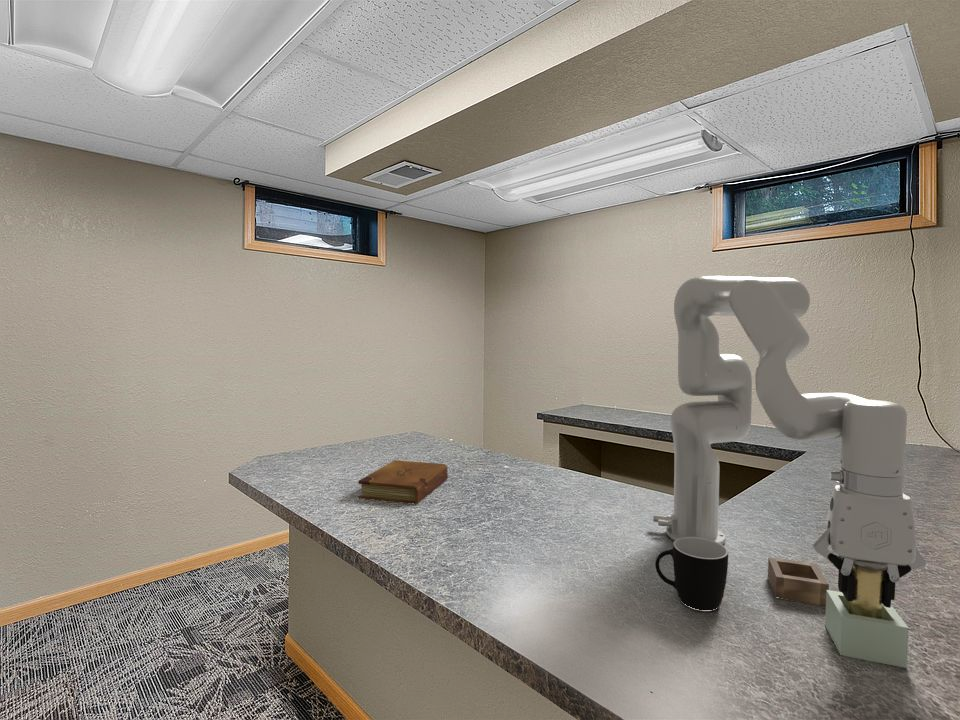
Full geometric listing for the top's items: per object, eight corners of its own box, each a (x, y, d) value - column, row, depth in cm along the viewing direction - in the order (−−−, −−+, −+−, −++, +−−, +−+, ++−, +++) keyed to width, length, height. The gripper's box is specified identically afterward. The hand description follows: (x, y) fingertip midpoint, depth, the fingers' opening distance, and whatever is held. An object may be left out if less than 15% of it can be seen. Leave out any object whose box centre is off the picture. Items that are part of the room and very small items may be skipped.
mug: (727, 596, 91) (729, 542, 90) (725, 622, 83) (727, 563, 82) (658, 580, 97) (659, 529, 96) (650, 603, 89) (651, 548, 88)
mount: (775, 597, 90) (776, 576, 90) (767, 577, 98) (768, 557, 97) (827, 606, 87) (828, 584, 87) (815, 584, 95) (816, 563, 95)
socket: (840, 655, 75) (841, 616, 74) (825, 625, 82) (826, 589, 82) (906, 668, 72) (908, 627, 71) (884, 635, 79) (886, 599, 79)
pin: (849, 637, 75) (853, 560, 75) (839, 619, 80) (842, 546, 79) (890, 645, 74) (894, 566, 73) (877, 626, 78) (880, 551, 77)
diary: (418, 506, 139) (417, 486, 139) (358, 500, 145) (358, 480, 144) (447, 481, 161) (447, 463, 160) (395, 476, 166) (394, 459, 166)
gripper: (812, 484, 75) (807, 602, 76) (954, 497, 69) (947, 625, 70) (800, 470, 82) (796, 578, 83) (928, 481, 76) (922, 597, 77)
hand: (865, 598), depth 76 cm, fingers closed on pin, 4 cm apart
